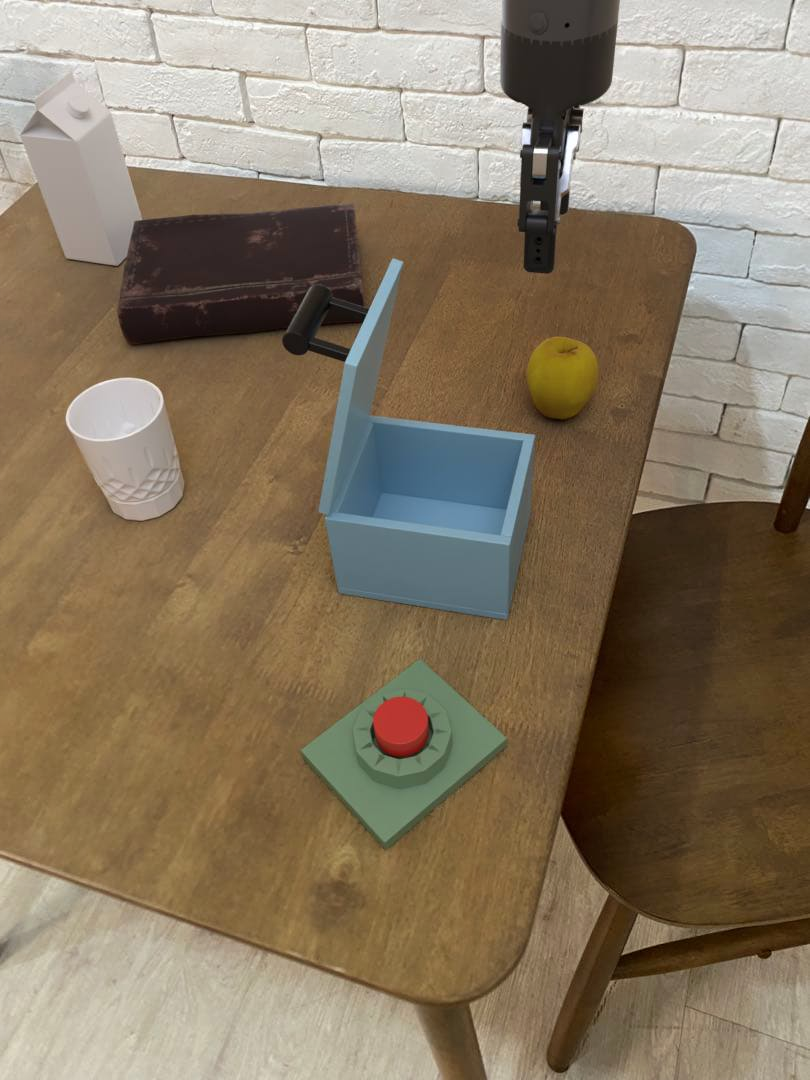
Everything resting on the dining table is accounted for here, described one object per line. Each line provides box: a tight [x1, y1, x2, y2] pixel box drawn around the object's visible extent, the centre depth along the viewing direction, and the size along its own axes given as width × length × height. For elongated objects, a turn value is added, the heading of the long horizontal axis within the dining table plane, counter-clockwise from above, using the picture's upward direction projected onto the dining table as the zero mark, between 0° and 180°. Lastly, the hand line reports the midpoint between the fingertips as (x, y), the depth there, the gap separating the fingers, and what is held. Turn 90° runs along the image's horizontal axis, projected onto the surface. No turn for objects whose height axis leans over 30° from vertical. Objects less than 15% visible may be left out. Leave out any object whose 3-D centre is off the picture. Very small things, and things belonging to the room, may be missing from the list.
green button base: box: [300, 658, 508, 851], centre depth 64 cm, size 11×9×3 cm
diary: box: [116, 202, 366, 345], centre depth 102 cm, size 19×25×5 cm
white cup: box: [65, 377, 185, 522], centre depth 80 cm, size 8×8×10 cm
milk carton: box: [19, 70, 143, 267], centre depth 105 cm, size 7×7×19 cm
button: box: [373, 697, 429, 757], centre depth 62 cm, size 4×4×2 cm
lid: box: [281, 258, 404, 516], centre depth 66 cm, size 14×12×6 cm
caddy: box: [324, 414, 536, 621], centre depth 74 cm, size 14×12×9 cm
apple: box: [526, 335, 600, 420], centre depth 85 cm, size 6×6×8 cm
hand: (546, 239), depth 72 cm, fingers open, 8 cm apart
